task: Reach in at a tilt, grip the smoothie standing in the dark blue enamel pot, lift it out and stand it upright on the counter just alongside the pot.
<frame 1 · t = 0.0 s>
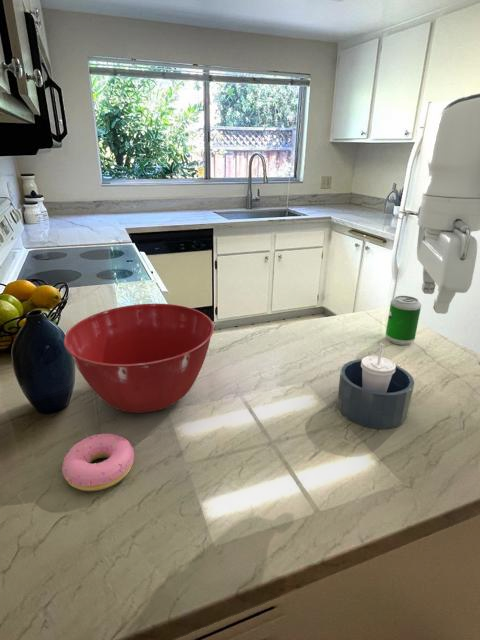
hand: (433, 301, 66), 25 cm above the countertop, tool pointing down, fingers open, 8 cm apart
soda can: (399, 340, 111), on the countertop
doughnut: (100, 471, 65), on the countertop
pot: (371, 407, 81), on the countertop
mixing bowl: (147, 395, 85), on the countertop
smoothie: (371, 406, 81), resting on pot
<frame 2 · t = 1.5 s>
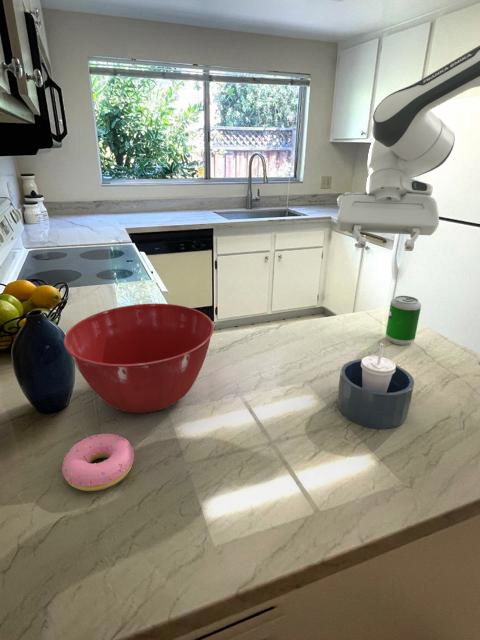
hand: (385, 248, 83), 30 cm above the countertop, tool tilted 45°, fingers open, 8 cm apart
nothing on the countertop moved.
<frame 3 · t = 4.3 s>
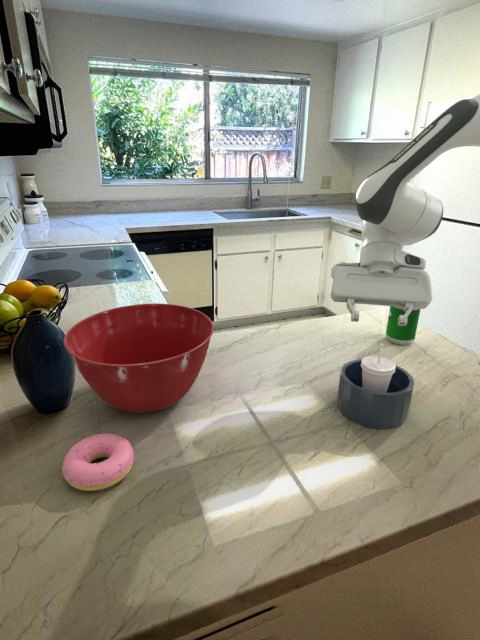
hand: (378, 322, 83), 15 cm above the countertop, tool tilted 45°, fingers open, 8 cm apart
nothing on the countertop moved.
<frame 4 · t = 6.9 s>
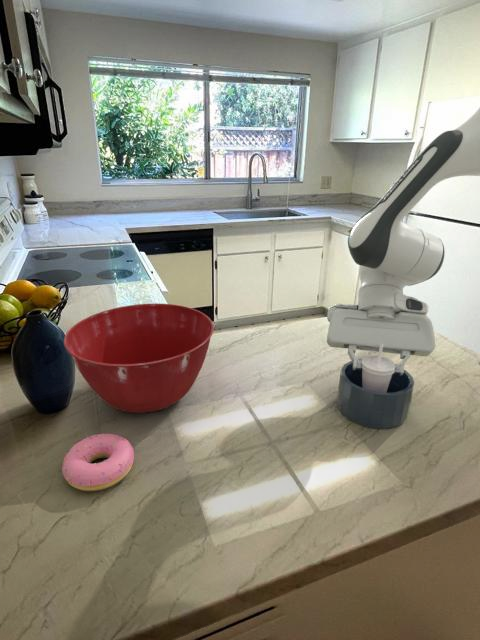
hand: (377, 372, 77), 9 cm above the countertop, tool tilted 45°, fingers closed on smoothie, 6 cm apart
smoothie: (371, 406, 81), resting on pot, touching gripper
everything else where it was.
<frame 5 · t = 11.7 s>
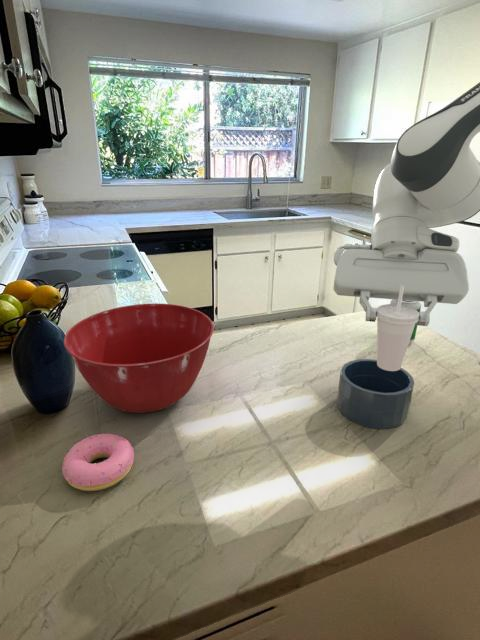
hand: (396, 322, 63), 23 cm above the countertop, tool tilted 45°, fingers closed on smoothie, 6 cm apart
smoothie: (388, 366, 66), point 15 cm above the countertop, touching gripper
everything else where it was.
when the fingers open (8 cm above the countertop, at t = 16.7 s): smoothie stays where it is, on the countertop.
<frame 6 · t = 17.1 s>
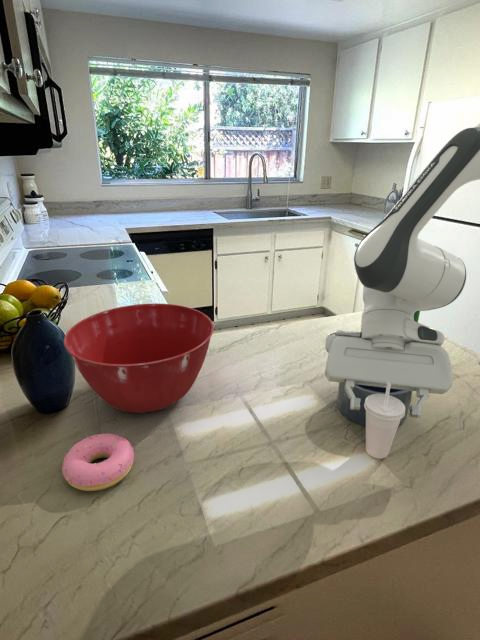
hand: (384, 413, 66), 8 cm above the countertop, tool tilted 45°, fingers open, 8 cm apart
smoothie: (376, 451, 70), on the countertop
everything else where it was.
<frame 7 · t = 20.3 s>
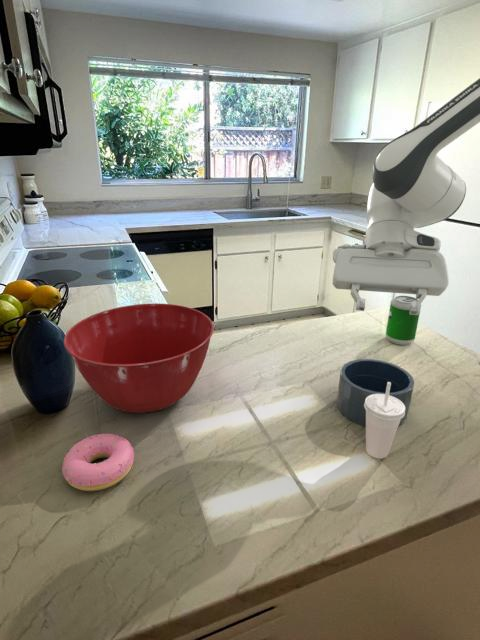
hand: (387, 311, 73), 21 cm above the countertop, tool tilted 45°, fingers open, 8 cm apart
nothing on the countertop moved.
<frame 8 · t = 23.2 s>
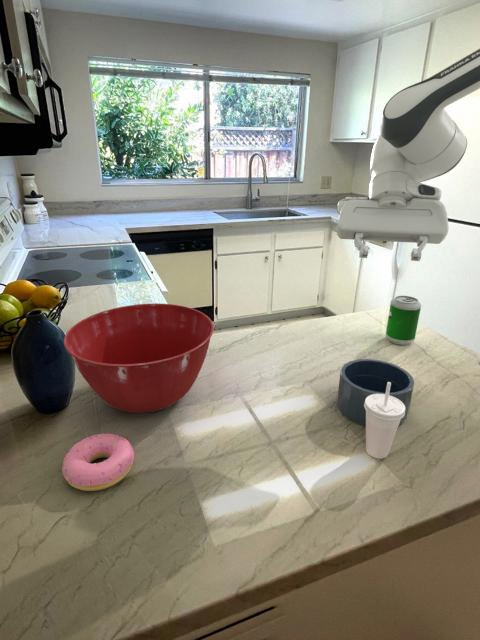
hand: (389, 257, 76), 29 cm above the countertop, tool tilted 45°, fingers open, 8 cm apart
nothing on the countertop moved.
at the end: smoothie inside the target area (0.1 cm from its centre), on the countertop; smoothie tilted 0°; smoothie touching countertop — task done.
